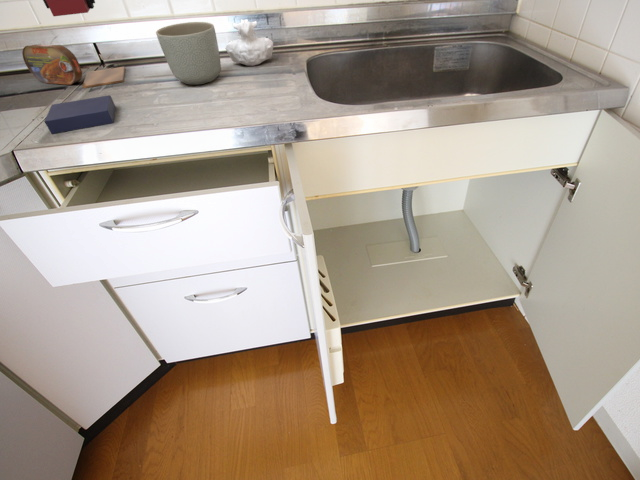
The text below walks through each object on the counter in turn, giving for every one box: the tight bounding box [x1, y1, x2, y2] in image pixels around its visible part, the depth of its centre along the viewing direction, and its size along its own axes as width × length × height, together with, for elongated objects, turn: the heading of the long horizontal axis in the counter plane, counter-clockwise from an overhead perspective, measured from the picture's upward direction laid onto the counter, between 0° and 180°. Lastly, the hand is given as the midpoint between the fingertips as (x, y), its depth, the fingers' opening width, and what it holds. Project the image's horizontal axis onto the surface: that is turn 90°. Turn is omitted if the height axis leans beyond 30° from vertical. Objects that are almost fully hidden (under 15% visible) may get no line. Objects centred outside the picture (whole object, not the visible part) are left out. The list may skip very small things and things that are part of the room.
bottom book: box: [43, 94, 117, 135], centre depth 78 cm, size 11×9×2 cm
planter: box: [155, 21, 222, 86], centre depth 90 cm, size 12×12×11 cm
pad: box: [81, 66, 126, 89], centre depth 98 cm, size 9×12×1 cm
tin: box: [21, 44, 83, 86], centre depth 94 cm, size 15×3×8 cm, turn 72°
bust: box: [225, 18, 274, 67], centre depth 98 cm, size 12×8×11 cm
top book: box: [46, 0, 91, 17], centre depth 86 cm, size 7×10×4 cm
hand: (73, 9), depth 87 cm, fingers closed on top book, 6 cm apart
